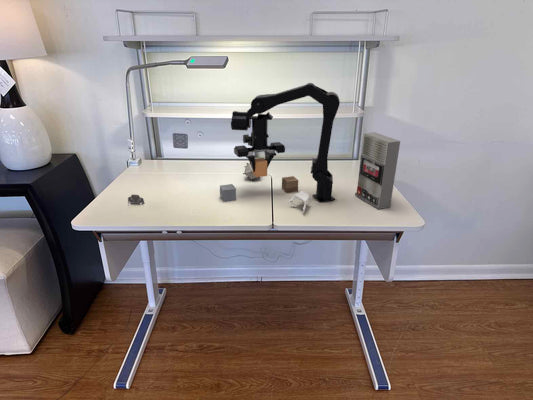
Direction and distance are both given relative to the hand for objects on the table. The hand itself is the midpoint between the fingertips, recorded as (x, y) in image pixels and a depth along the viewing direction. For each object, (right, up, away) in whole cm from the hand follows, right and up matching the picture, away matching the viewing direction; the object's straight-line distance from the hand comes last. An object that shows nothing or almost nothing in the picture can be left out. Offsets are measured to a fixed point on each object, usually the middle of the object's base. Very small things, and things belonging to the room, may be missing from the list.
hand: (259, 170), depth 145 cm
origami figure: (+15, -15, -8) cm, 23 cm away
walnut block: (+12, -7, +8) cm, 16 cm away
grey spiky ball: (-3, -2, +20) cm, 20 cm away
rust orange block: (0, -1, +1) cm, 2 cm away
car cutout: (-42, -14, -6) cm, 44 cm away
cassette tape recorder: (+43, -12, -1) cm, 45 cm away
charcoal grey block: (-12, -11, 0) cm, 16 cm away
